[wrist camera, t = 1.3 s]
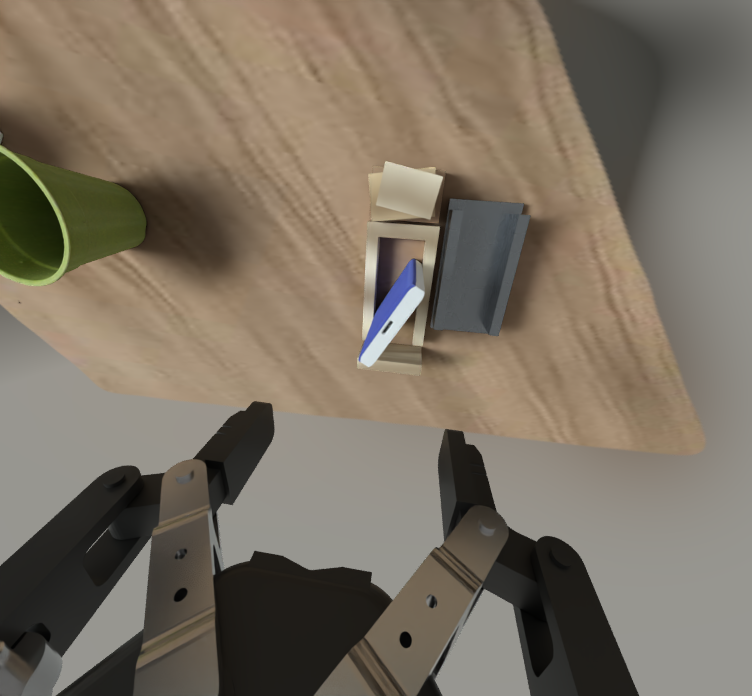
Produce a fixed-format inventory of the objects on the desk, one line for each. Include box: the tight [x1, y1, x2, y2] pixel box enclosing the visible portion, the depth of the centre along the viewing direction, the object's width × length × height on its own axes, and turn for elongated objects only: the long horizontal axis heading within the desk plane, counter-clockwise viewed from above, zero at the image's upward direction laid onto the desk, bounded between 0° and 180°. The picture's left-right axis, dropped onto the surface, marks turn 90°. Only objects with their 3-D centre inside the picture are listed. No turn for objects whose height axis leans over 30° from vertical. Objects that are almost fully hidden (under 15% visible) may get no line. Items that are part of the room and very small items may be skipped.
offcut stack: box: [368, 161, 446, 223], centre depth 28 cm, size 5×7×6 cm
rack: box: [357, 221, 440, 376], centre depth 33 cm, size 16×7×5 cm, turn 176°
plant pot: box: [0, 145, 147, 286], centre depth 30 cm, size 12×12×11 cm
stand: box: [430, 199, 531, 336], centre depth 31 cm, size 14×7×4 cm, turn 176°
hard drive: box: [358, 259, 425, 367], centre depth 29 cm, size 2×8×12 cm, turn 147°
